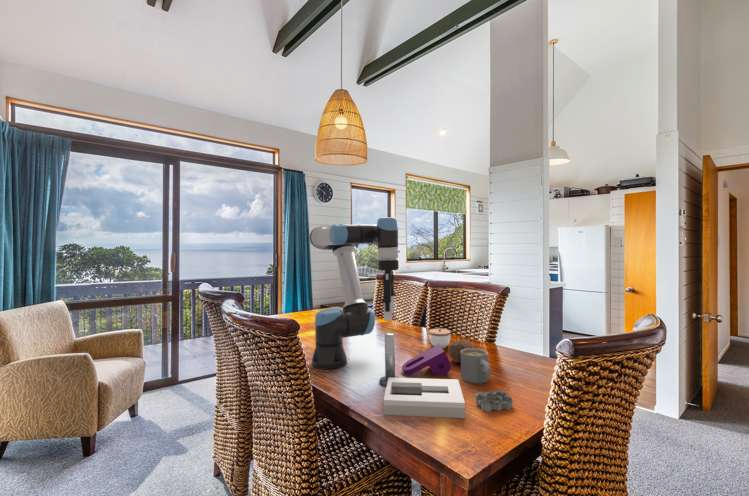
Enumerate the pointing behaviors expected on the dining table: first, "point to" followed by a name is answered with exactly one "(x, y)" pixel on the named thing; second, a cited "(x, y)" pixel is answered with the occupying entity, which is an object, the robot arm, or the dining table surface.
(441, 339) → the lidded jar
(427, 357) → the mounting bracket
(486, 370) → the coffee mug
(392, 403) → the keyhole plate
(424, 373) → the dining table surface
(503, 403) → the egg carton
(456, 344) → the decorative rock
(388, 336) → the headed peg
